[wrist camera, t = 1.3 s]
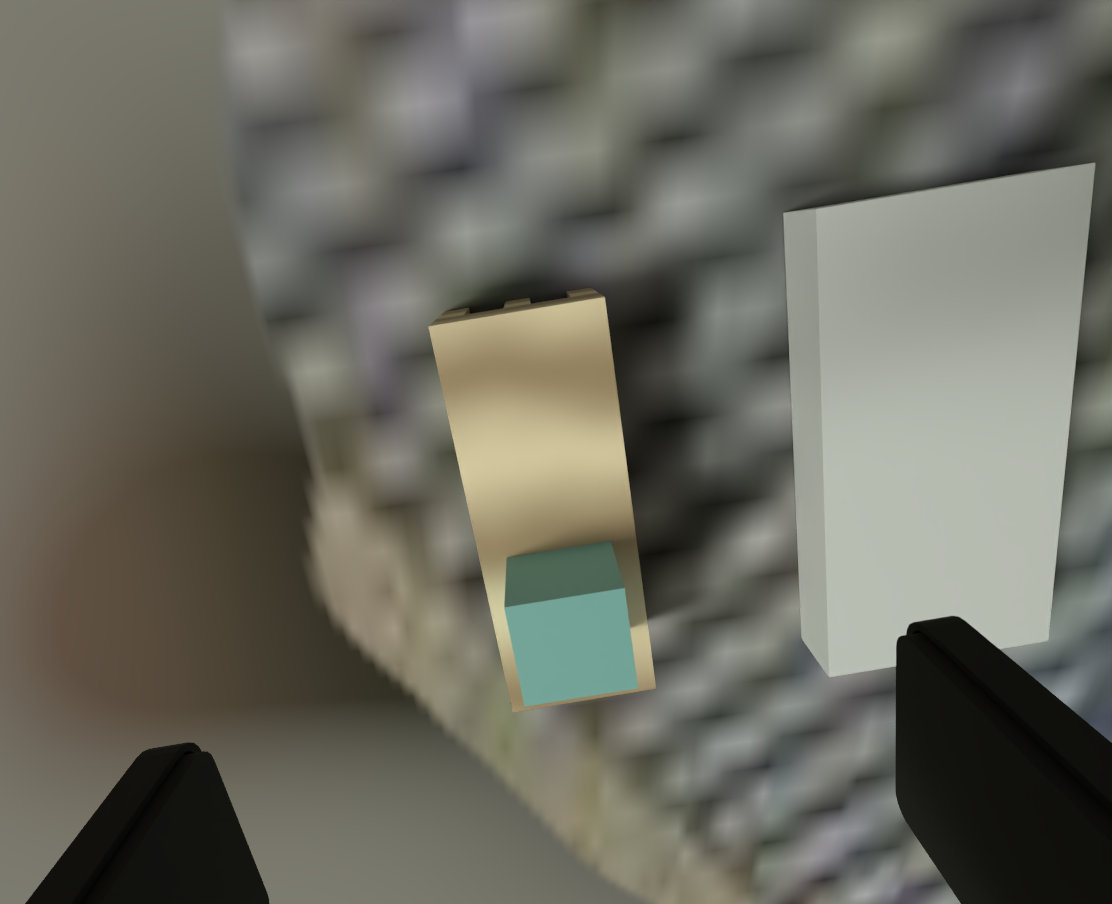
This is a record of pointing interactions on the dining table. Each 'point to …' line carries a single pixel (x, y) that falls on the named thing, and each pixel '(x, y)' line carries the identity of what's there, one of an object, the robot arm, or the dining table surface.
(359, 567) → the dining table surface
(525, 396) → the tan long block
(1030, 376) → the dock
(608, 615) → the teal cube
